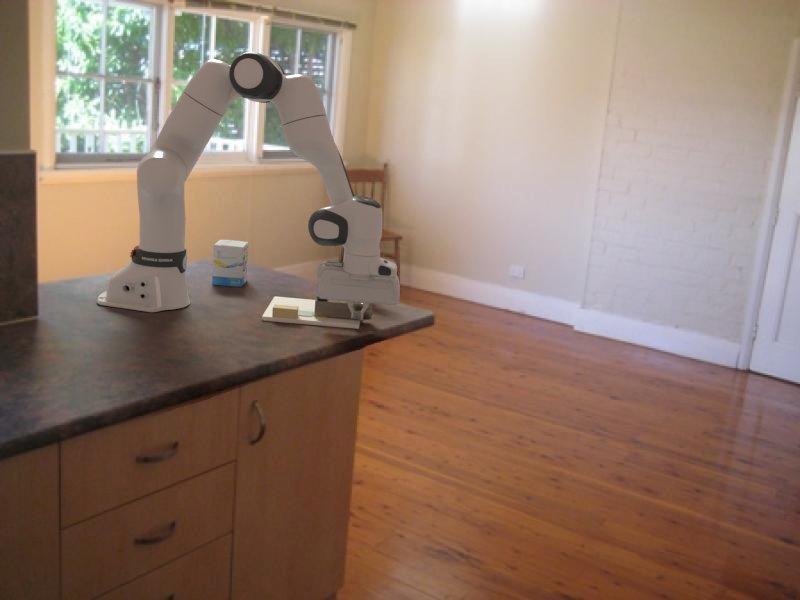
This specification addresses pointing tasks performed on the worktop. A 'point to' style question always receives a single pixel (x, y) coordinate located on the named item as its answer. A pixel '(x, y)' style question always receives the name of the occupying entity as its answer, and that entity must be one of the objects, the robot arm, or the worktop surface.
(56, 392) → the worktop surface
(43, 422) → the worktop surface
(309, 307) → the latch board
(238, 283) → the ink box
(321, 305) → the bar
